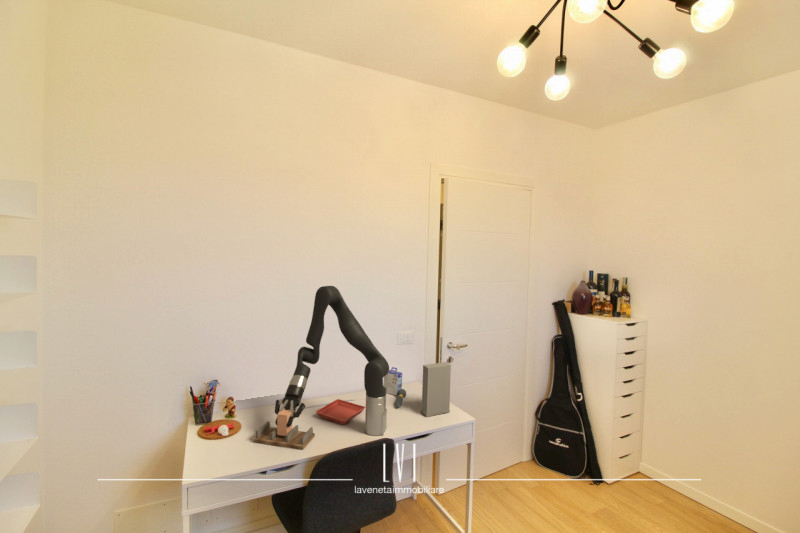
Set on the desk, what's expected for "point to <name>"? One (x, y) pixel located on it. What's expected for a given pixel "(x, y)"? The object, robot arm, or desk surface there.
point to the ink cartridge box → (393, 381)
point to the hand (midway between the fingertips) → (282, 425)
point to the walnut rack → (283, 437)
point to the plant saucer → (340, 411)
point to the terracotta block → (283, 423)
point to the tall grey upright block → (436, 389)
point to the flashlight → (400, 397)
